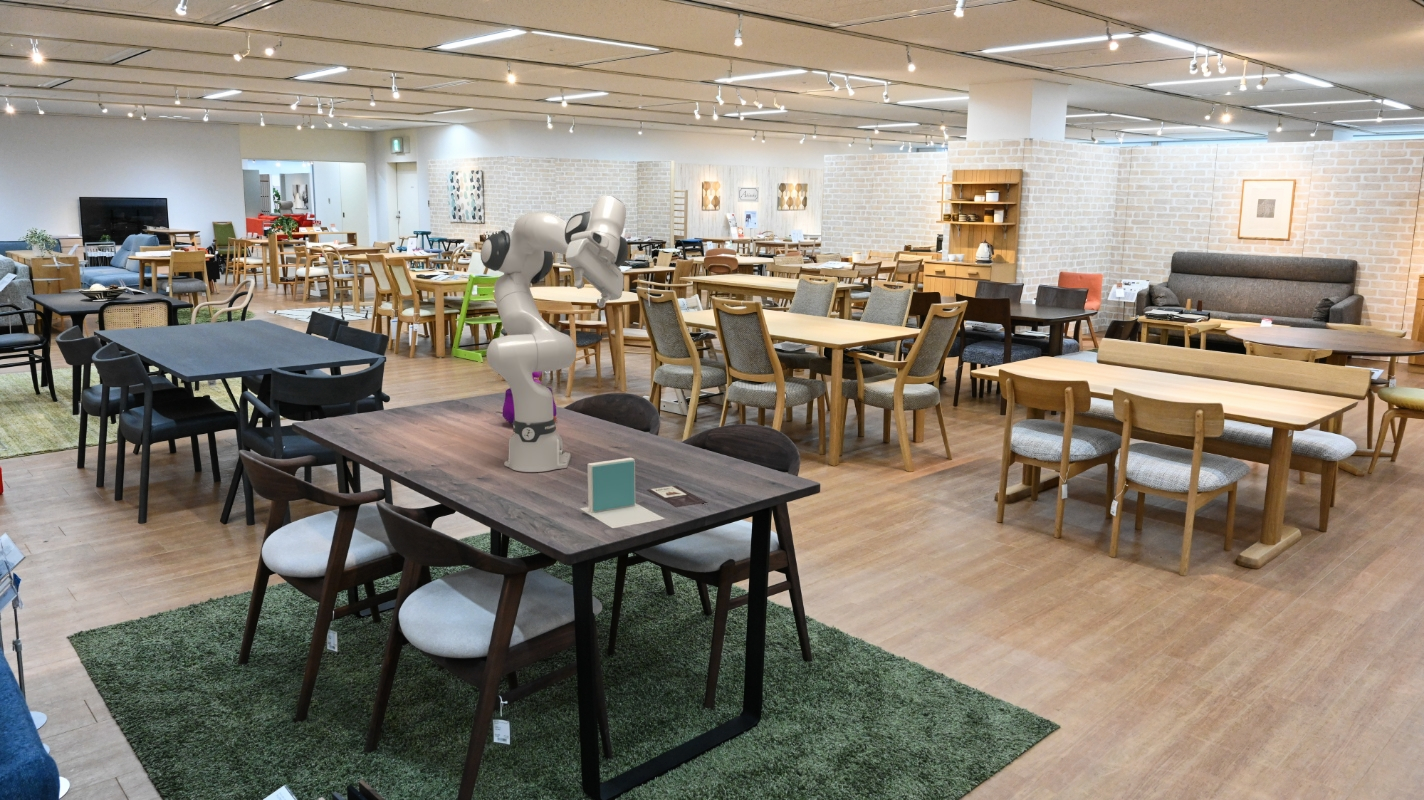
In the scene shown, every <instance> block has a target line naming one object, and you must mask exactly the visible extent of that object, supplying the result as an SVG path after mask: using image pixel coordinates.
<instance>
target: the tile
mask: <svg viewBox="0 0 1424 800" xmlns="http://www.w3.org/2000/svg"><path fill="white" fill-rule="evenodd" d="M587 498H588V499H587V502H588V505H587V507H588V511H590V512H591V513H594V512H600V511H606V510H612V509H618V508H624V507H630V506H635V503H636V459H635V458H633V457H625V458H619V459H618V458H616V459H612V460H611V459H610V460H604V461H597V462H590V463H587Z"/></svg>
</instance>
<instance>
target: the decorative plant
mask: <svg viewBox="0 0 1424 800" xmlns="http://www.w3.org/2000/svg"><path fill="white" fill-rule="evenodd" d="M542 374H543V371H542V372H533V373H532V378H533V381H534V382H536V383H539V384H541V385H542V382H541V380H539V379H538V378H540V377H541V376H542ZM546 387H547V388H548V389H549V390H550V391H551V393H552V395H553V396H554V394H553V388H551V387H548V386H546ZM504 393H505V394H504V402H503V406H502V417H503V418H504V420H505V421H506V422H508V423H510V424H513V421H514V419H515V412H514V401H513V395H512V391H511V389H510V387H509V388H507V389H505V392H504ZM557 413H558V412H557V405H556V402H555V399H554V397H553V417H554V416H556V417H557V415H558V414H557Z"/></svg>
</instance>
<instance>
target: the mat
mask: <svg viewBox="0 0 1424 800" xmlns="http://www.w3.org/2000/svg"><path fill="white" fill-rule="evenodd" d="M579 510H581V511H583V512H585V513H586V514H587V515H589V516H591V517H593V518H595V519H596V520H598V521H599V522H601V523H603V524H605V525H606V526H608V527H609V528H612V529H616V528H623V527H628V526H634V525H638V524H639V525H640V524H644V523H649V522H650V523H651V522H656V521H661V520H665V519H666V518H665V517H663V516H661V515H659V514H657V513H655V512H653V511H651V510H650V509H647V508H645V507H644V506H642V505H640V504H638V503H636V502H635V506H630V507H624V508H618V509H612V510H606V511H600V512H594V513H591V512H590V511H588V506H585V507H579Z"/></svg>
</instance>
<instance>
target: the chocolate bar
mask: <svg viewBox="0 0 1424 800" xmlns="http://www.w3.org/2000/svg"><path fill="white" fill-rule="evenodd" d="M646 491H647V492H649V493H650V494H653V495H654V496H656V497H657V498H659V499H660V500H663V501H664V502H666V503H668V504H669V505H671V506H672V507H674V508H681V507H688V506H693V505H703V504H704V503H708V502H707V501H706V500H703V499H702V498H700V497H698V496H696V495H694V494H693V493H691V492H689V491H687V490H686V489H683V488H681V487H680V486H678V485H673V486H664V487H657V488H649V489H646Z"/></svg>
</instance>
